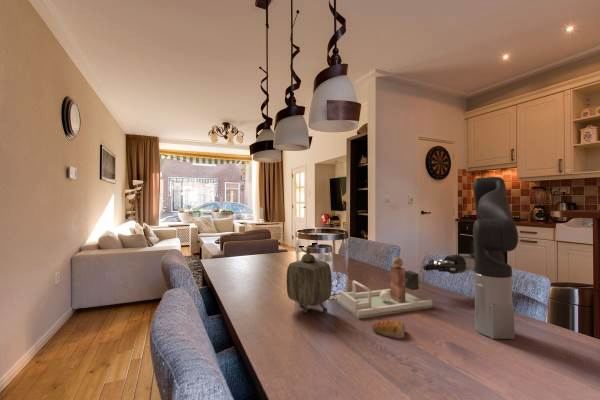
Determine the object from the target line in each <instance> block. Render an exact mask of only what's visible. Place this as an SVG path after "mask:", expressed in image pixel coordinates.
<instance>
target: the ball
mask: <svg viewBox="0 0 600 400" xmlns="http://www.w3.org/2000/svg"><path fill="white" fill-rule="evenodd" d="M380 299H381V300H382V301H384V302H388V301H389V300H390V299H391V295H390V293H389V292H388V291H382V292H381V293H380Z"/></svg>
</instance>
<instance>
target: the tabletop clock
mask: <svg viewBox="0 0 600 400" xmlns="http://www.w3.org/2000/svg"><path fill="white" fill-rule="evenodd" d="M313 247H314V250H311V251H310V249H309V248H307V249H306V250H305V249H303V247H300V250H301V251H302V252H303V253H304V254H303V255H302V257H301V260H297V261H294V262H293V261H292V262H290V263H289V264H288V266H287V269H286V293H287V297H288V299H290V300H291V301H294V302H296V303H299V305H300V306H301V307H303V306H304V308H303V309H302V313H303V314H307V313H308V309H307V306H313V307H315V306H318V305H319V306H321V308H322V312H323V313H327V312H328V308H326V307H325V306H324V305H323V303H325V302H326V301H329V300H330V299H331V296H332V290H333V289H332V285H333V278H332V270H331V266H330V264H329V263H328V262H327V261H324V260H319V259H316V257H315V256H314V254H313V253H315V252H316V250H317V245H316V244H313Z"/></svg>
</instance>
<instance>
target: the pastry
mask: <svg viewBox="0 0 600 400" xmlns="http://www.w3.org/2000/svg"><path fill="white" fill-rule="evenodd" d="M371 327H372V330H373V331H374V333H376V334H380V335H382V336H385V337H390V338H395V339H403V338H404V337H405V333H406V326H405V322H404V321H403V320H400V321H398V320H395V319H394V320H393V319H389V320H387V319H386V320H380V321H376V322H374V323H373V324H372V325H371Z"/></svg>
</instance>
